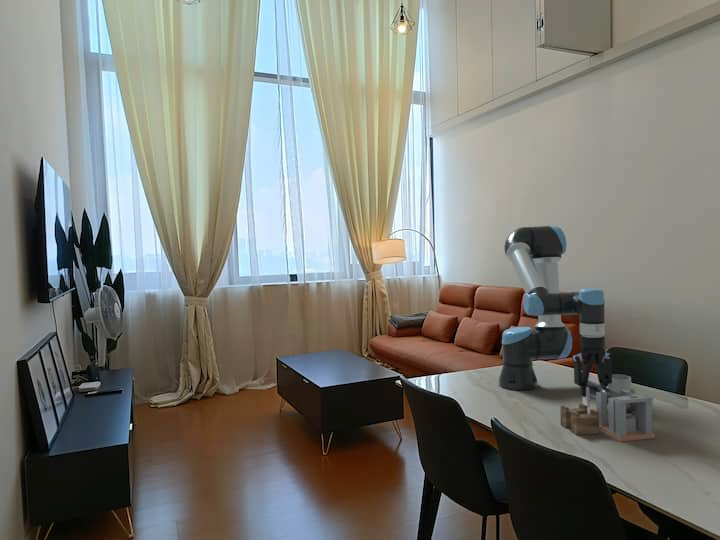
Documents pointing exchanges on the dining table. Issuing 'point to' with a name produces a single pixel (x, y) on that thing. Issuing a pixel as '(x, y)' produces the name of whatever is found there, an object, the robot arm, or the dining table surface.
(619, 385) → the cup
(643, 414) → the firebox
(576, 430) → the rack
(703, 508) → the dining table surface
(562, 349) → the robot arm
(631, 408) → the tube
